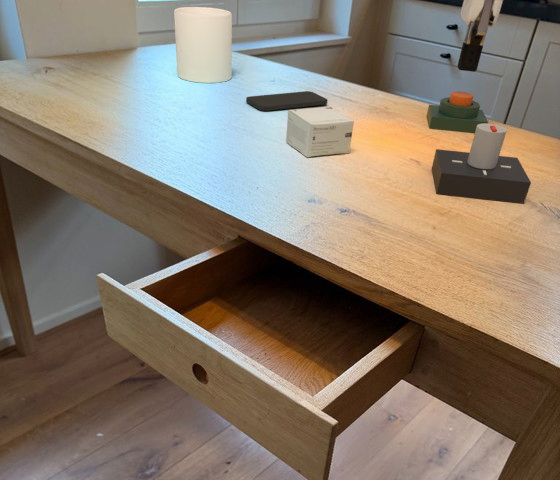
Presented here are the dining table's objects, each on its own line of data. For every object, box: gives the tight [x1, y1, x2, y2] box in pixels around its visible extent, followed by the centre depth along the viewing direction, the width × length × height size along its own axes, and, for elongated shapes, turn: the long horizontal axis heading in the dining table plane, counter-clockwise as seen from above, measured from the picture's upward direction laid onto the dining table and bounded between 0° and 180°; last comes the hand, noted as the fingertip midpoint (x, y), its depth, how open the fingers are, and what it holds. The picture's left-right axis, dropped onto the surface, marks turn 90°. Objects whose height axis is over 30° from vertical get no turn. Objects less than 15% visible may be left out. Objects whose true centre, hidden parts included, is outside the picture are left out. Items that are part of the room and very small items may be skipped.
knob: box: [467, 122, 508, 169], centre depth 78 cm, size 4×4×5 cm
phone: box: [245, 90, 328, 112], centre depth 109 cm, size 7×1×15 cm
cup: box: [173, 6, 233, 84], centre depth 118 cm, size 12×12×12 cm
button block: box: [426, 97, 489, 134], centre depth 104 cm, size 10×8×4 cm
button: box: [449, 91, 474, 106], centre depth 102 cm, size 4×4×2 cm
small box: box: [285, 106, 355, 158], centre depth 89 cm, size 8×8×5 cm
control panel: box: [431, 149, 532, 204], centre depth 81 cm, size 12×10×3 cm
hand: (466, 69), depth 99 cm, fingers closed
